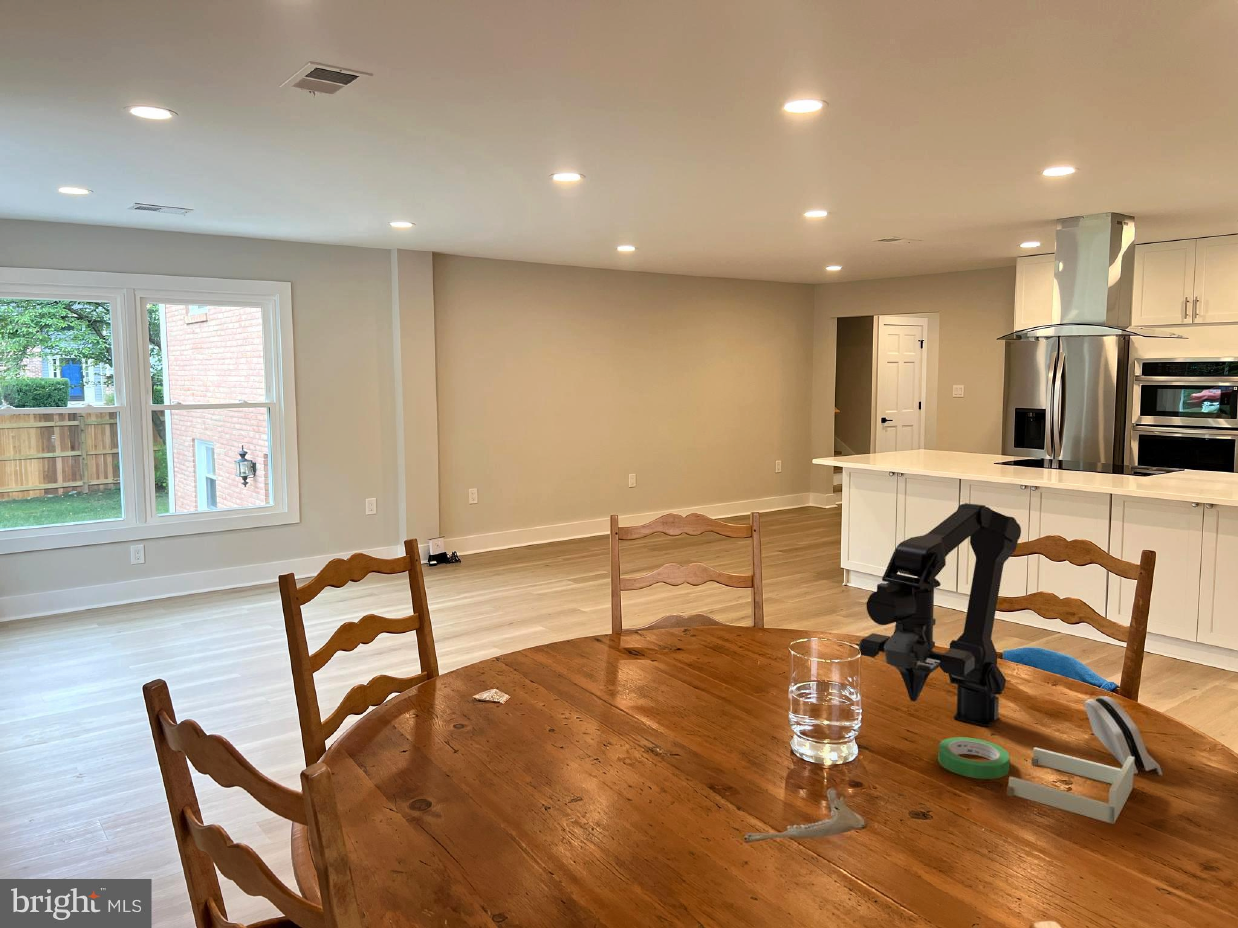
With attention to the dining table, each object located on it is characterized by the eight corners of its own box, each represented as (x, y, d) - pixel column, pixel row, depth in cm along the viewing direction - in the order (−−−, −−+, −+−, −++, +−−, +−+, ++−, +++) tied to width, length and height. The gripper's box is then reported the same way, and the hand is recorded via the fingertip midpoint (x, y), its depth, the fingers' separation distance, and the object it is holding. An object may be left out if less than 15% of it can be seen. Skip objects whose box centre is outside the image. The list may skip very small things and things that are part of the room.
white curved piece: (1163, 775, 139) (1144, 719, 139) (1133, 783, 140) (1114, 726, 140) (1122, 734, 155) (1105, 683, 155) (1095, 740, 156) (1078, 690, 156)
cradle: (1006, 795, 133) (1007, 764, 133) (1035, 759, 145) (1036, 731, 145) (1112, 826, 124) (1114, 793, 123) (1133, 785, 136) (1135, 755, 135)
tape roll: (1005, 755, 148) (1006, 741, 147) (1012, 784, 137) (1013, 768, 137) (937, 747, 151) (937, 733, 151) (939, 774, 141) (939, 759, 141)
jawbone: (880, 825, 127) (881, 812, 126) (789, 878, 114) (790, 864, 114) (831, 796, 134) (832, 784, 133) (740, 843, 121) (741, 830, 121)
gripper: (845, 615, 149) (844, 701, 150) (954, 635, 136) (951, 728, 138) (872, 602, 157) (871, 684, 159) (977, 619, 145) (974, 708, 146)
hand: (913, 700), depth 150 cm, fingers closed
